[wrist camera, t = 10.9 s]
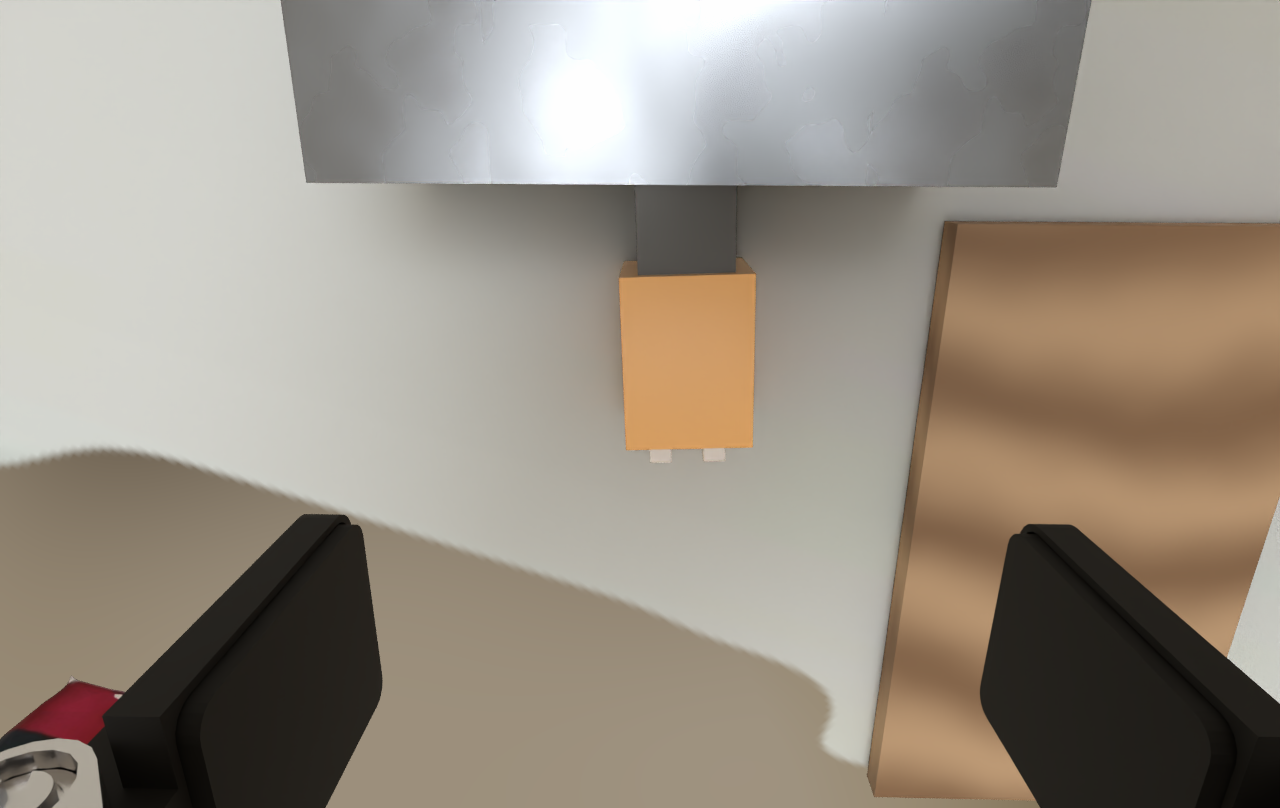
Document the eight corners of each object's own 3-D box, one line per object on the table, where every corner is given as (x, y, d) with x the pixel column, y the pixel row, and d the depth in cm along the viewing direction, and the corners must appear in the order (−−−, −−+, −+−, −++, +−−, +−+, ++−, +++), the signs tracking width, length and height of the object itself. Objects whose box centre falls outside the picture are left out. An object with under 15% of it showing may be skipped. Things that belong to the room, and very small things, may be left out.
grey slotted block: (405, -14, 24) (265, -109, 15) (947, -14, 24) (1112, -111, 15) (421, 174, 26) (306, 182, 17) (922, 177, 25) (1056, 186, 17)
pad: (944, 221, 26) (957, 224, 25) (1336, 223, 26) (1368, 226, 25) (866, 775, 34) (874, 796, 33) (1161, 782, 34) (1178, 803, 33)
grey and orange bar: (602, -274, 22) (591, -367, 18) (748, -282, 21) (768, -377, 18) (631, 439, 29) (627, 481, 25) (739, 437, 29) (751, 479, 25)
